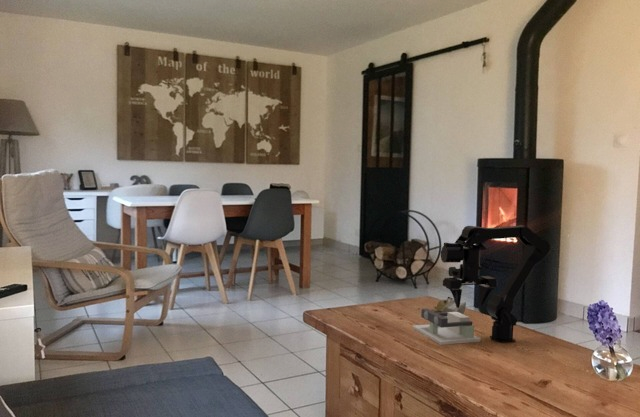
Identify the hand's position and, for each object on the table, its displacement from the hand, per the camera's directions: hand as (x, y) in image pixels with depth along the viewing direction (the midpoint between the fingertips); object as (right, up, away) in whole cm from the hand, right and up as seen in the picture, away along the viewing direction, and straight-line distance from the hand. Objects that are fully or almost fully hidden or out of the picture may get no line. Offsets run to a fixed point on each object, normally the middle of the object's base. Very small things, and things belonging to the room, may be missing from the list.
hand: (469, 306), depth 189 cm
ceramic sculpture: (0, -10, +32) cm, 33 cm away
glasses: (-7, -6, +7) cm, 11 cm away
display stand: (-7, -11, +7) cm, 15 cm away
